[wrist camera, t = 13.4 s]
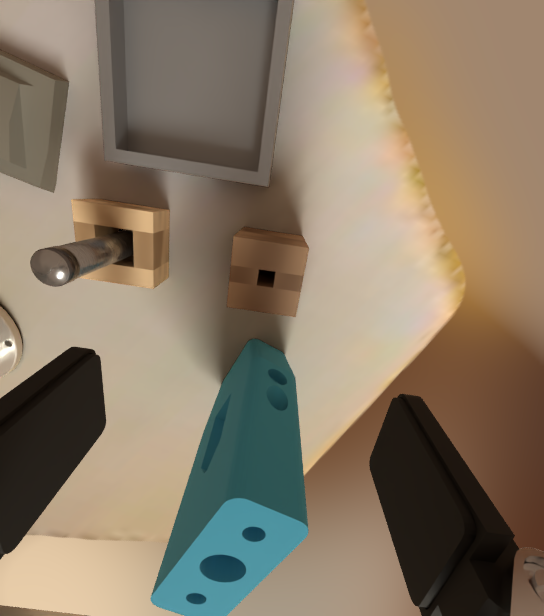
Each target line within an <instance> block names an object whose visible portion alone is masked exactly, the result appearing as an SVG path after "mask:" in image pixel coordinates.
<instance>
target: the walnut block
mask: <svg viewBox="0 0 544 616" xmlns="http://www.w3.org/2000/svg"><path fill="white" fill-rule="evenodd" d="M308 251H309V247H308V245H307V243H306V242H305V240H304V238H303V236H300V235H293V234H287V233H280V232H274V231H268V230H261V229H255V228H248V227H243V228H242V229H241V230H240V231H239V232H238V233H237V234H236V235H234V236H233V247H232V257H231V267H230V277H229V288H228V298H227V307H231V308H238V309H244V310H251V311H258V312H265V313H272V314H278V315H285V316H292V317H296V312H297V307H298V302H299V297H300V292H301V287H302V281H303V276H304V271H305V266H306V261H307V256H308Z"/></svg>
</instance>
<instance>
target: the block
mask: <svg viewBox="0 0 544 616" xmlns="http://www.w3.org/2000/svg"><path fill="white" fill-rule="evenodd" d="M307 535H308V522H307V510H306V498H305V486H304V475H303V463H302V451H301V439H300V428H299V416H298V404H297V393H296V381H295V376H294V374H293V372H292V370H291V368H290V366H289V364H288V362H287V359H286V357H285V355H284V354H283V352H281V351H279V350H277V349H276V348H274V347H272V346H270V345H268V344H266V343H264V342H262V341H260V340H258V339H251V340H249V341H248V342H247V344H246V345H245V347H244V349H243V350H242V352H241V353H240V355H239V357H238V358H237V360H236V361H235V363H234V365H233V366H232V368H231V369H230V371H229V373H228V374H227V376H226V377H225V379H224V381H223V383H222V385H221V388H220V390H219V393H218V396H217V398H216V401H215V404H214V406H213V409H212V411H211V414H210V417H209V419H208V422H207V425H206V427H205V430H204V432H203V436H202V439H201V442H200V445H199V448H198V451H197V454H196V457H195V461H194V464H193V467H192V470H191V473H190V476H189V479H188V483H187V486H186V489H185V492H184V495H183V498H182V501H181V504H180V508H179V511H178V514H177V517H176V520H175V523H174V526H173V530H172V533H171V536H170V539H169V542H168V545H167V549H166V551H165V555H164V558H163V561H162V564H161V567H160V570H159V573H158V577H157V580H156V583H155V586H154V589H153V593H152V595H151V601H152V603H153V604H154V605H156V606H157V607H160V608H163V609H166V610H169V611H172V612H175V613H178V614H181V615H184V616H227V615H228V614H229V613H230V612H231V611H232V610H233V609H234V608H235V607H236V606H237V605H238V604H239V603H240V602H241V601H242V600H243V599H244V598H245V597H246V596H247V595H248V594H249V593H250V592H251V591H252V590H253V589H254V588H255V587H256V586H257V585H258V584H259V583H260V582H261V581H262V580H263V579H264V578H265V577H266V576H267V575H268V574H269V573H270V572H271V571H272V570H273V569H274V568H275V567H276V566H277V565H278V564H279V563H280V562H282V561H283V559H285V557H287V556H288V554H290V553H291V552H292V551H293V550H294V549H295V548H296V547H297V546H298V545H299V544H300V543H301V542H302V541H303V540H304V539H305V538H306V536H307Z"/></svg>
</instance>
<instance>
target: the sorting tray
mask: <svg viewBox="0 0 544 616" xmlns="http://www.w3.org/2000/svg"><path fill="white" fill-rule="evenodd" d="M293 6H294V0H95V15H96V31H97V48H98V64H99V80H100V96H101V113H102V129H103V145H104V160H105V161H111V162H116V163H121V164H127V165H133V166H139V167H146V168H152V169H158V170H164V171H170V172H177V173H183V174H189V175H195V176H201V177H208V178H214V179H220V180H226V181H232V182H239V183H245V184H251V185H257V186H264V187H269V185H270V178H271V170H272V163H273V155H274V148H275V140H276V133H277V125H278V118H279V111H280V103H281V96H282V88H283V81H284V73H285V66H286V58H287V51H288V43H289V36H290V29H291V21H292V14H293Z"/></svg>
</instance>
